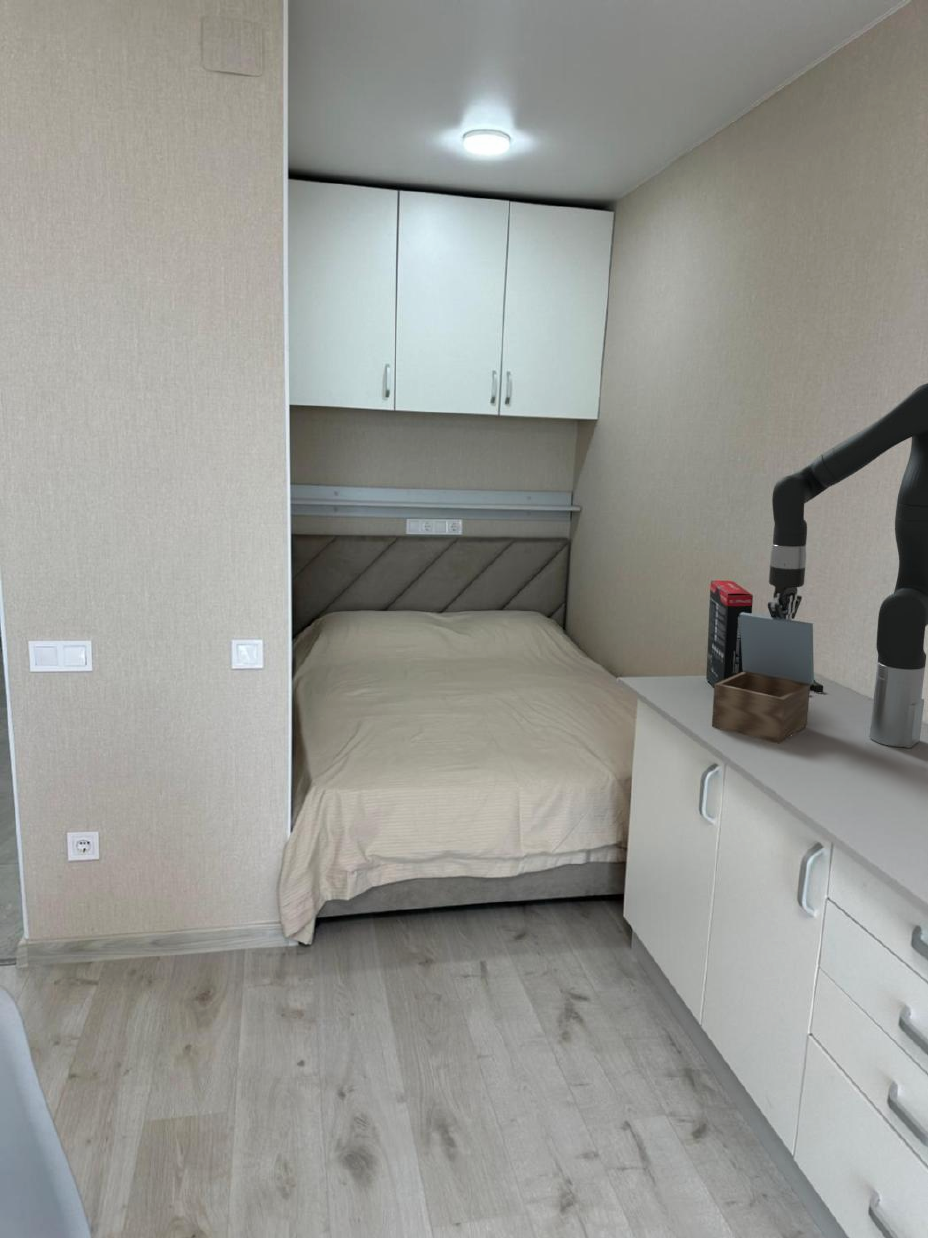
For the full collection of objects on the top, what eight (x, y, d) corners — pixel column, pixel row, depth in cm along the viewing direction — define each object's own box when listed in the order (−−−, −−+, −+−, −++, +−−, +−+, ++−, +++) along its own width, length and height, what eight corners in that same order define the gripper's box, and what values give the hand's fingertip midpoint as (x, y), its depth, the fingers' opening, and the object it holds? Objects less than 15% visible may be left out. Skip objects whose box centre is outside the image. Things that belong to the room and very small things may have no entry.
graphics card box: (748, 700, 222) (756, 592, 216) (720, 700, 222) (727, 592, 216) (729, 680, 239) (735, 579, 232) (703, 680, 239) (708, 579, 232)
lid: (811, 686, 200) (813, 684, 201) (810, 625, 195) (812, 623, 195) (742, 672, 212) (745, 669, 212) (739, 614, 206) (742, 612, 207)
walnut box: (806, 727, 203) (810, 685, 201) (779, 743, 193) (782, 699, 191) (740, 711, 214) (743, 671, 211) (711, 726, 204) (714, 684, 202)
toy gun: (768, 685, 235) (769, 667, 234) (814, 686, 234) (816, 668, 233) (778, 697, 225) (779, 678, 224) (826, 697, 225) (828, 679, 224)
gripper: (790, 570, 194) (785, 647, 198) (816, 562, 203) (810, 636, 207) (758, 566, 199) (753, 641, 203) (784, 558, 208) (779, 630, 212)
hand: (782, 638), depth 205 cm, fingers closed
